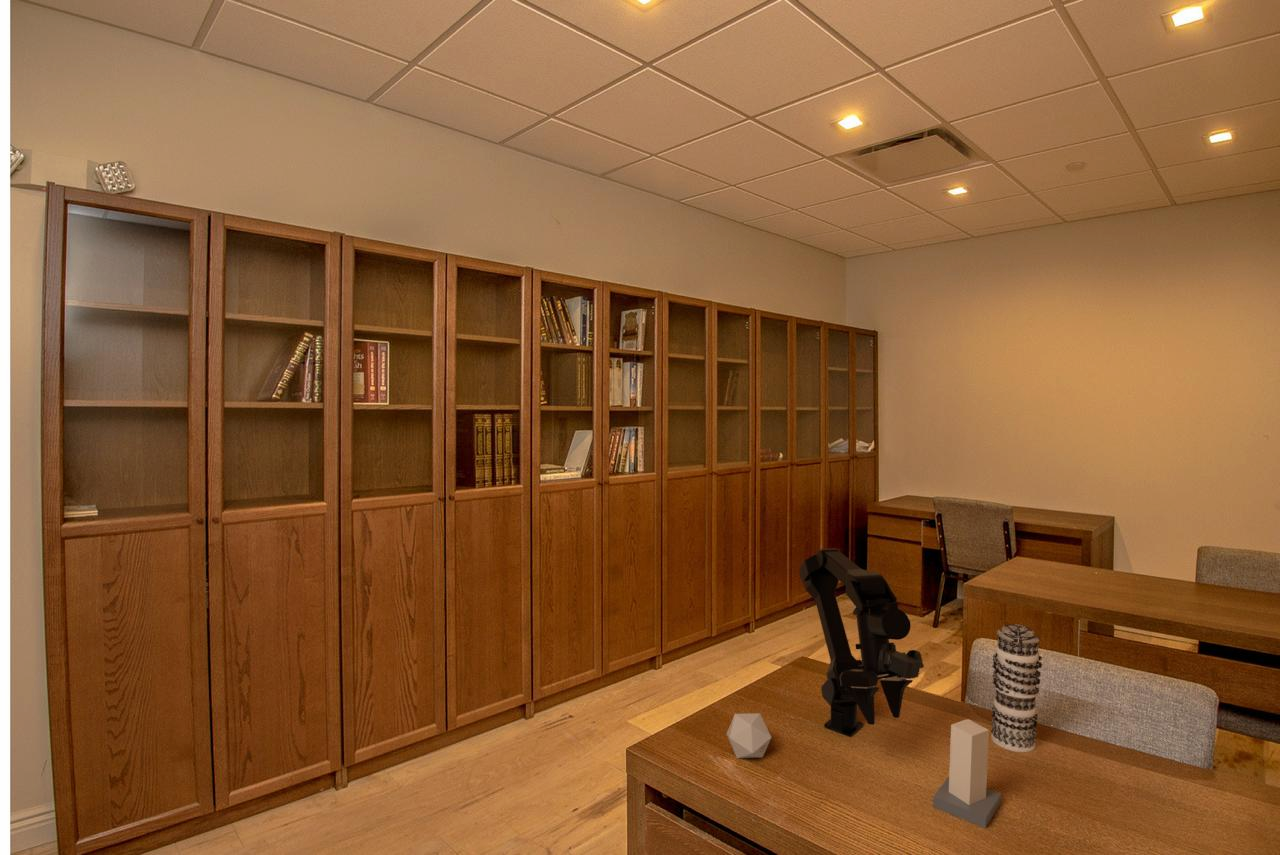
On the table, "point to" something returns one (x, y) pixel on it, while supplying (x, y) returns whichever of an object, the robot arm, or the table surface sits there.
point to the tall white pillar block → (968, 761)
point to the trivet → (973, 813)
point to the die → (748, 735)
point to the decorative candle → (1015, 688)
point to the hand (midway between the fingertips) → (884, 721)
